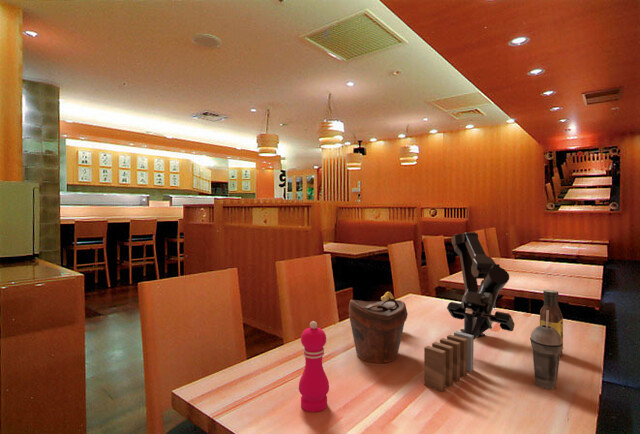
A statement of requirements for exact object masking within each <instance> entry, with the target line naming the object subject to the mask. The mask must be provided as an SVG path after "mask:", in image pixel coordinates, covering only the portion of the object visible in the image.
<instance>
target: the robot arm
mask: <svg viewBox="0 0 640 434" xmlns="http://www.w3.org/2000/svg"><path fill="white" fill-rule="evenodd" d="M451 244H452V246H453V249H454V252H455V253H456V254H457V255H458V256H459V261H460V262H459V263H460V266H461V267H460V268H461V275H462V278H463V279H462V280H463V285H464V294H463V296H462V298H461V303H459V302H453V301H450V302H449V303H448V304H447V307H446V309H447V311H448V313H449V314H450V315H451V317H452V318H453V319H457V320H461V321H462V320H463V321H464V323H463V328H461V329H460V330H459V332H462V333H466V334H470V335H474V340H476V339H477V337H485V336H486V334H485V332H486V331H487V330H492V329H493V326H492V325H493V323H498V324H499V327H500V329H502V330H503V331H508V332H513V331H514V328H515V322H514V320H513V317H512V315H511V314H510V313H508V312H504V311H498V310H497V311H495V312H494V314H492V312H493V310H494V309H496V301H497V297H498V295H499V293H500V291H502V290H503V289H504V288H505V286H506V285H507V283H508V282H509V280H510V274H509V273H508V271H507V270H505V269H504V268H502V267H500V266H501V265H500V263H496V261H495V260H494V259H493V258H492V257H489V256H488V255H487V254H486V252H485V250H484V248H483V245H482V244H481V241H480V239H479V234H478V233H477V232H474V231H473V232H472V231H471V232H469V231H468V232H463V233H455V234H454V235H453V236H452V237H451ZM478 279H479V280H481V282H480V284H479V286H478Z"/></svg>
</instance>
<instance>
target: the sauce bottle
mask: <svg viewBox="0 0 640 434" xmlns="http://www.w3.org/2000/svg"><path fill="white" fill-rule="evenodd" d="M542 294H543V306H542V307H541V308H540V311H539V326H541V325H546V314H547V310H549V320H548V326H550V327H553V328H554V329H555V330H557V331H558V333H559V334H560V336H561V339H562V343H563V345H562V350H561V352H560V357H561V356H562V355H563V352H564V316H563V313H562V312H561V308H560V306H559V291H558V290H554V289H544V290H543V292H542Z"/></svg>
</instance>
